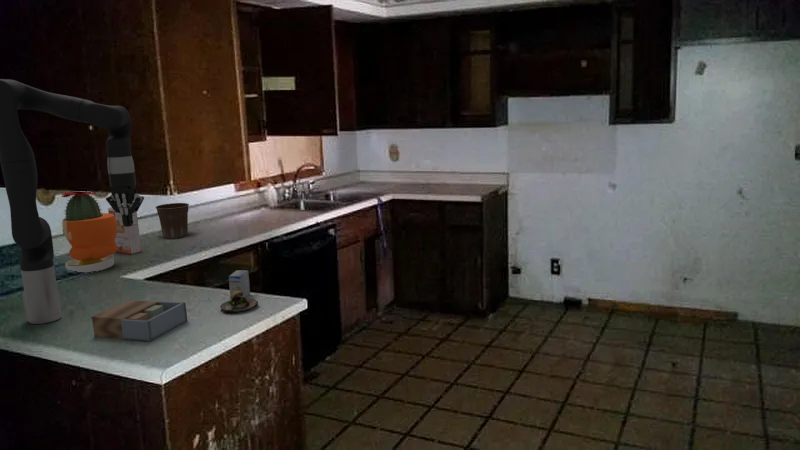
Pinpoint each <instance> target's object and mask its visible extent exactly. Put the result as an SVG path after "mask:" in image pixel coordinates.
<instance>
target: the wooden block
mask: <svg viewBox="0 0 800 450" xmlns="http://www.w3.org/2000/svg"><path fill="white" fill-rule="evenodd" d="M154 305H159V301H147V300H132V299H128V300H126V301H124V302H121V303H120V304H117V305H115V306H113V307H110V308H108V309H107V310H104V311H101V312H99V313H98V314H95V315H93V316H91V320H92V328H93V336H94V337H99V338H109V339H112V338H113V339H123V333H122V326H121V320H122V319H128V318H129V317H131V316H134V315H136V314H138V313H145V312H144V310H146V309H148V308H150V307H152V306H154Z"/></svg>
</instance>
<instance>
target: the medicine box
mask: <svg viewBox="0 0 800 450" xmlns="http://www.w3.org/2000/svg"><path fill="white" fill-rule="evenodd" d="M228 284H229V285H228V286H229V287H228V288H229V297H230V296H231V294H232V293H233V292H234V291H242V292H243V295H242V297H245V298H246V299H247V297H248V296H249V295H250V294H251V289H250V287H251V286H250V277H249V270H245V269H244V270H242V269H241V270H237V269H236V270H235V271H234V272H232V273H231V274H230V275H229V276H228ZM234 289H235V290H234Z"/></svg>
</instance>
